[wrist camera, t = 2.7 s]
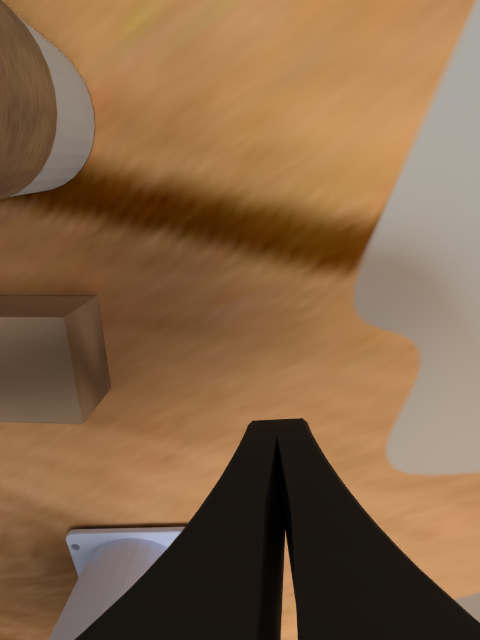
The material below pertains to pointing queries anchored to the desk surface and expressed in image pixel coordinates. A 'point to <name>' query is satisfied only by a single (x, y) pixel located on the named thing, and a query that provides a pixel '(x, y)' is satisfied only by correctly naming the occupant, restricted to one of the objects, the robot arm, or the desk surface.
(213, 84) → the desk surface
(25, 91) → the coffee cup
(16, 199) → the desk surface
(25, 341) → the walnut block
